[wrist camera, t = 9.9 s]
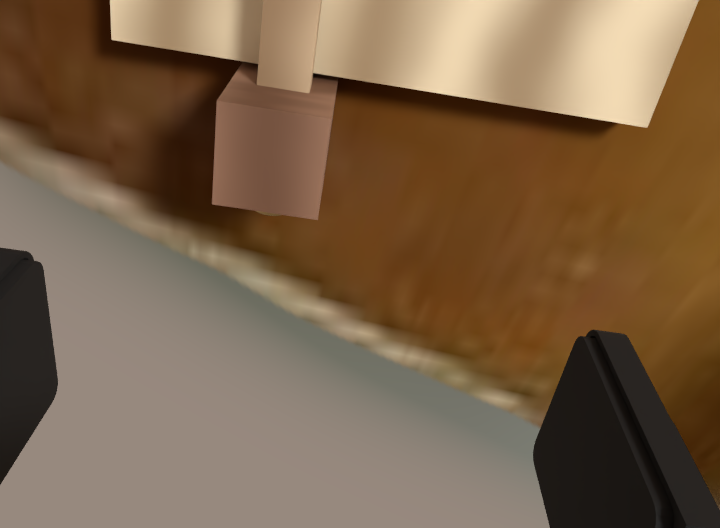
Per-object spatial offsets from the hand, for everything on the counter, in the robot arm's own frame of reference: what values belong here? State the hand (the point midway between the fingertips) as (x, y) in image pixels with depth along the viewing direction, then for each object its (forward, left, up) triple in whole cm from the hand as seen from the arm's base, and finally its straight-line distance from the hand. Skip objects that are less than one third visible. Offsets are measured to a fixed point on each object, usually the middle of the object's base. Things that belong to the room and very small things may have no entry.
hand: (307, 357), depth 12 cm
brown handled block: (+2, -3, -19) cm, 19 cm away
